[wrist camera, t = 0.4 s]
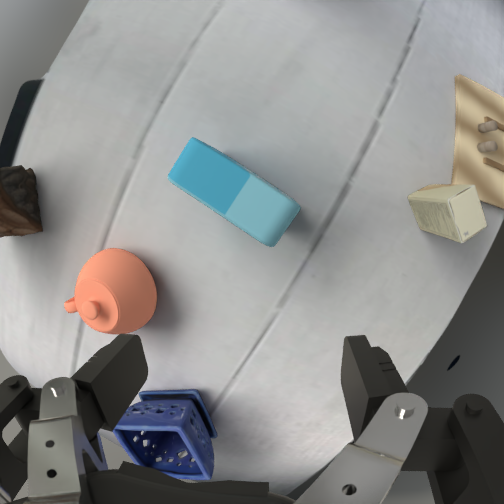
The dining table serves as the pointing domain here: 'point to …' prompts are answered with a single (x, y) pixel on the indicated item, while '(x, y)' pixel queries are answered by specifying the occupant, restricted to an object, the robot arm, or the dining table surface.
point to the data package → (233, 192)
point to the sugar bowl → (114, 292)
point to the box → (449, 211)
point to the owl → (18, 202)
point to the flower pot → (169, 433)
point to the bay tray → (479, 140)
